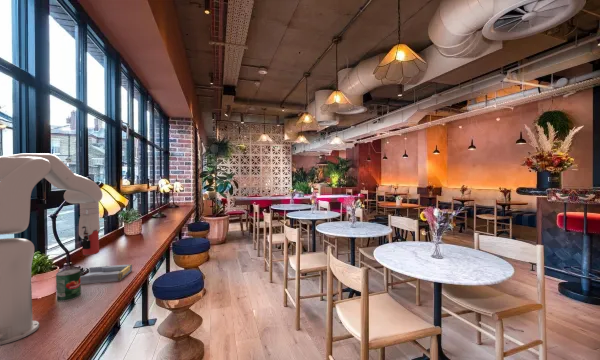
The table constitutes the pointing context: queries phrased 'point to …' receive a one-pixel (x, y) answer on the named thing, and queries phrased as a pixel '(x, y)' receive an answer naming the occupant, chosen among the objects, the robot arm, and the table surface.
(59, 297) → the canned tomato
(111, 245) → the table surface
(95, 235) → the beer can
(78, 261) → the table surface
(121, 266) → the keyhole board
